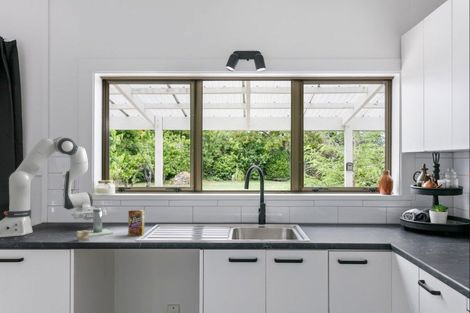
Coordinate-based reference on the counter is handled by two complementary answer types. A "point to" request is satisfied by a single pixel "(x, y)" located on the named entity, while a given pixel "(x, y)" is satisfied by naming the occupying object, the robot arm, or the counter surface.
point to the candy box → (136, 222)
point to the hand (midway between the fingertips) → (93, 215)
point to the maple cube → (83, 235)
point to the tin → (97, 220)
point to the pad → (104, 232)
